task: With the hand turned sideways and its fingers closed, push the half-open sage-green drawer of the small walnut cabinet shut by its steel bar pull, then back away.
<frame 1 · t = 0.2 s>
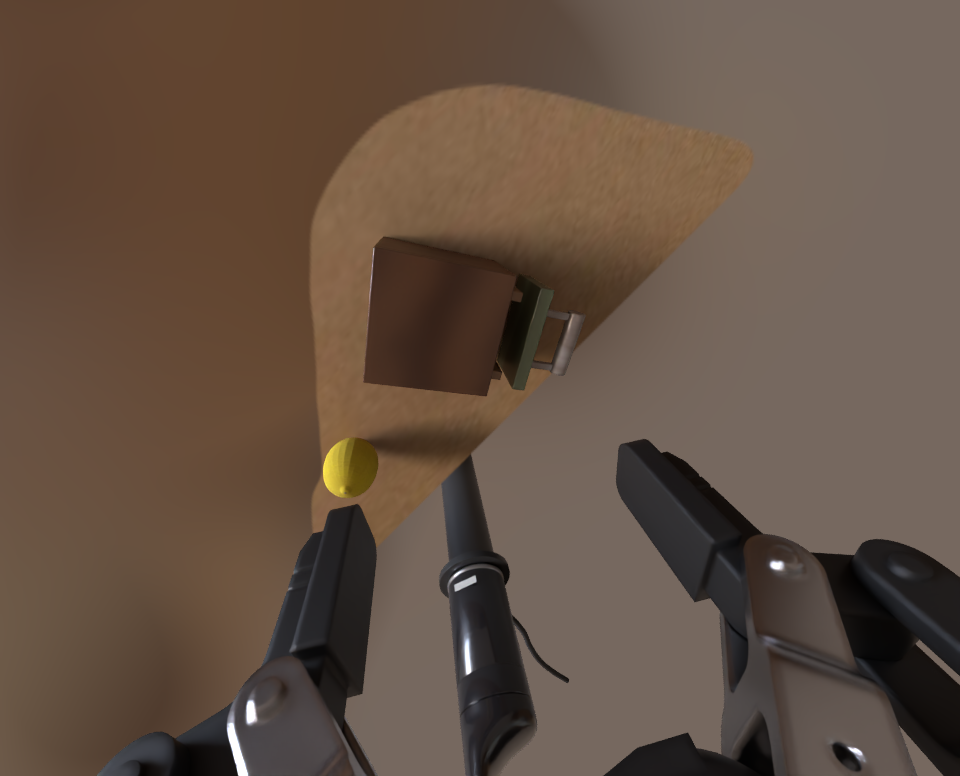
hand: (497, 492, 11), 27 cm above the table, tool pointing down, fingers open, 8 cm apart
cabinet: (432, 304, 35), on the table
lemon: (357, 443, 41), on the table
drawer: (501, 327, 33), point 4 cm above the table, slide at 2.5 cm
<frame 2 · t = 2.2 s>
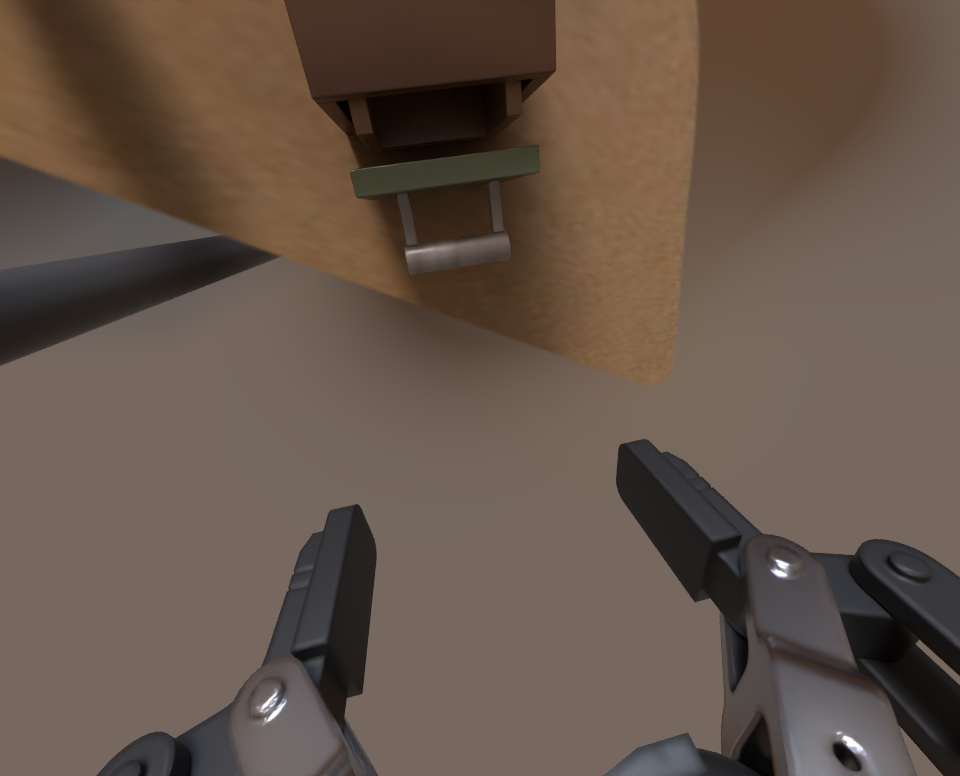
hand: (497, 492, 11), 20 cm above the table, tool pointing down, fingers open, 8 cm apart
cabinet: (411, 10, 20), on the table
drawer: (436, 133, 19), point 4 cm above the table, slide at 2.5 cm
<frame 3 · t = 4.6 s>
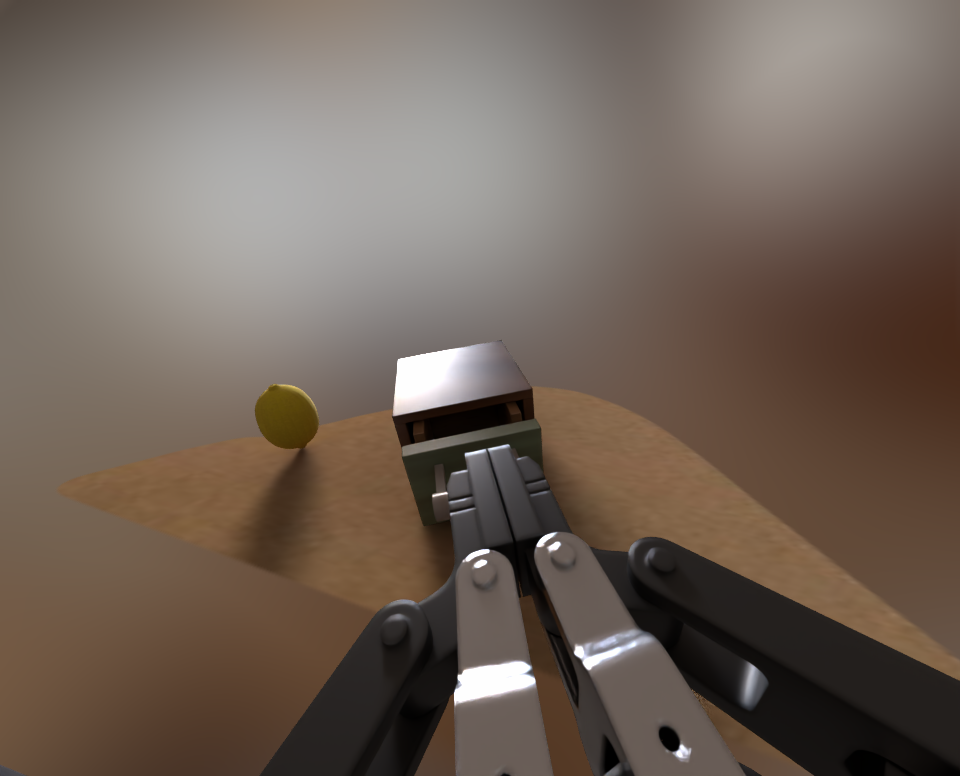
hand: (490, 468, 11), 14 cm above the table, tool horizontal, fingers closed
cabinet: (470, 448, 34), on the table
lemon: (303, 448, 38), on the table
drawer: (473, 455, 27), point 4 cm above the table, slide at 2.5 cm
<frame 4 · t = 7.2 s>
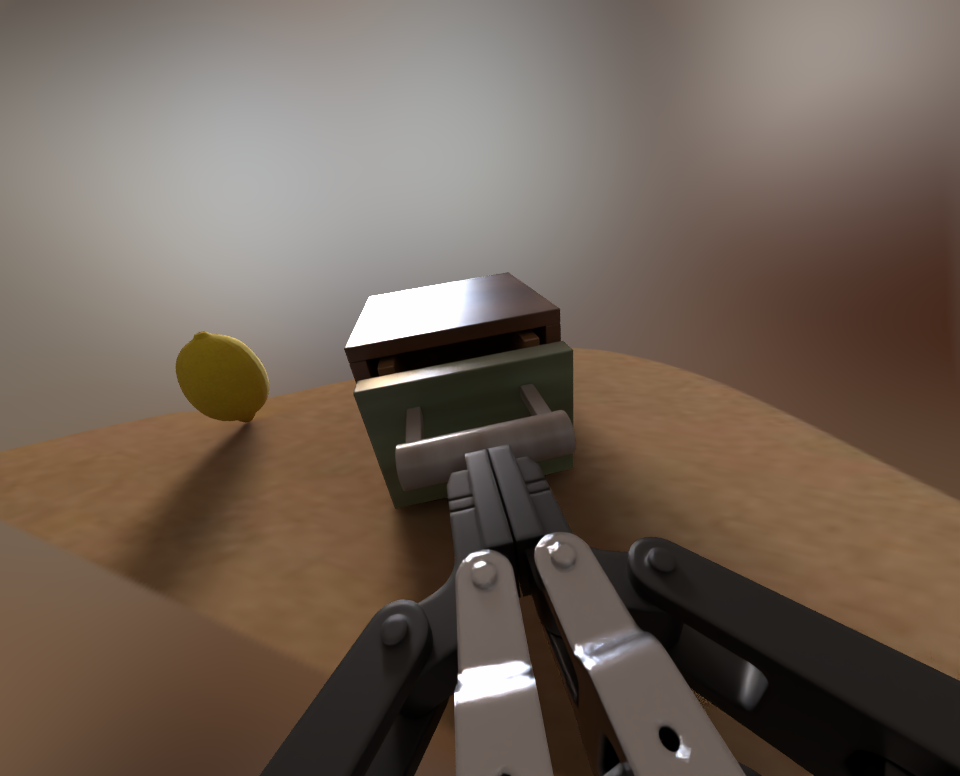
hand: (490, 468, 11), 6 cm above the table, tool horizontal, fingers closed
cabinet: (467, 416, 25), on the table
lemon: (250, 423, 29), on the table
drawer: (469, 406, 18), point 4 cm above the table, slide at 1.8 cm, touching gripper
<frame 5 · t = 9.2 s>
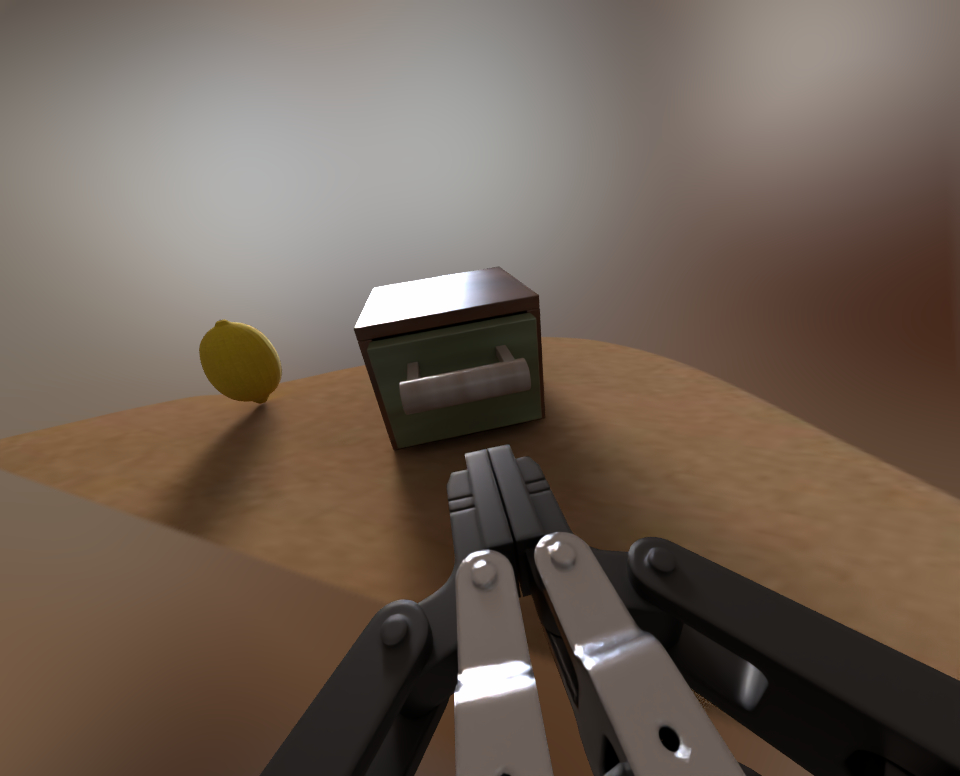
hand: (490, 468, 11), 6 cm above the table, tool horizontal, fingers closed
cabinet: (461, 396, 28), on the table
lemon: (264, 404, 32), on the table
drawer: (458, 368, 23), point 4 cm above the table, slide at 0.0 cm, touching cabinet
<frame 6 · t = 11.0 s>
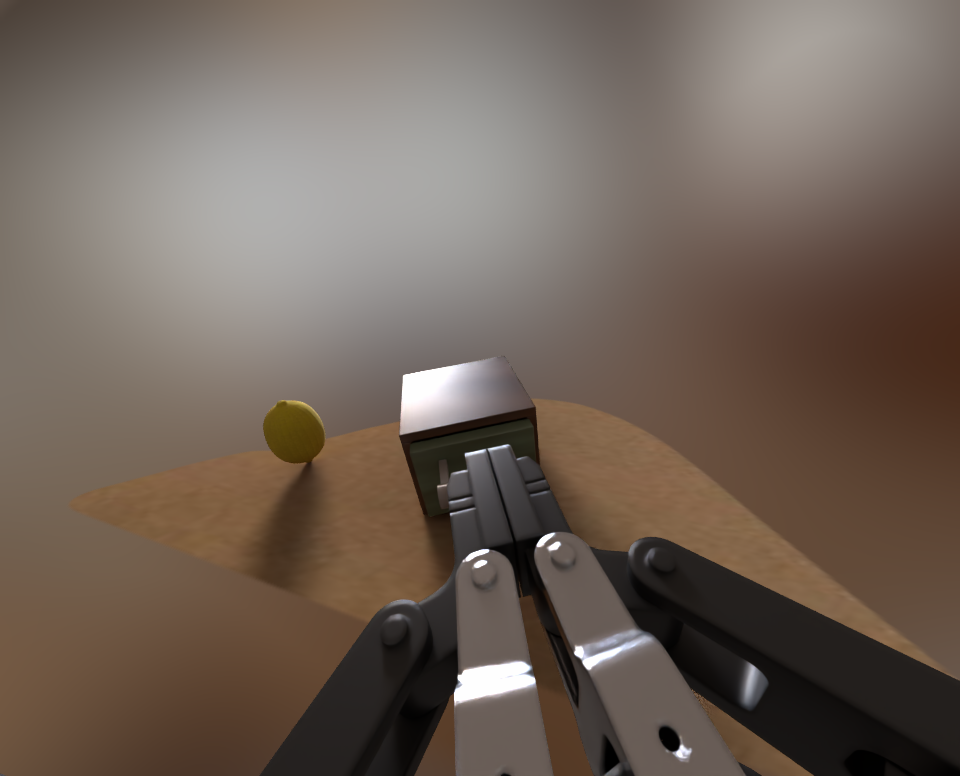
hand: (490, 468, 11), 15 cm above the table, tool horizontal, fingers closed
cabinet: (474, 462, 35), on the table
lemon: (310, 462, 39), on the table
drawer: (473, 453, 29), point 4 cm above the table, slide at 0.0 cm, touching cabinet
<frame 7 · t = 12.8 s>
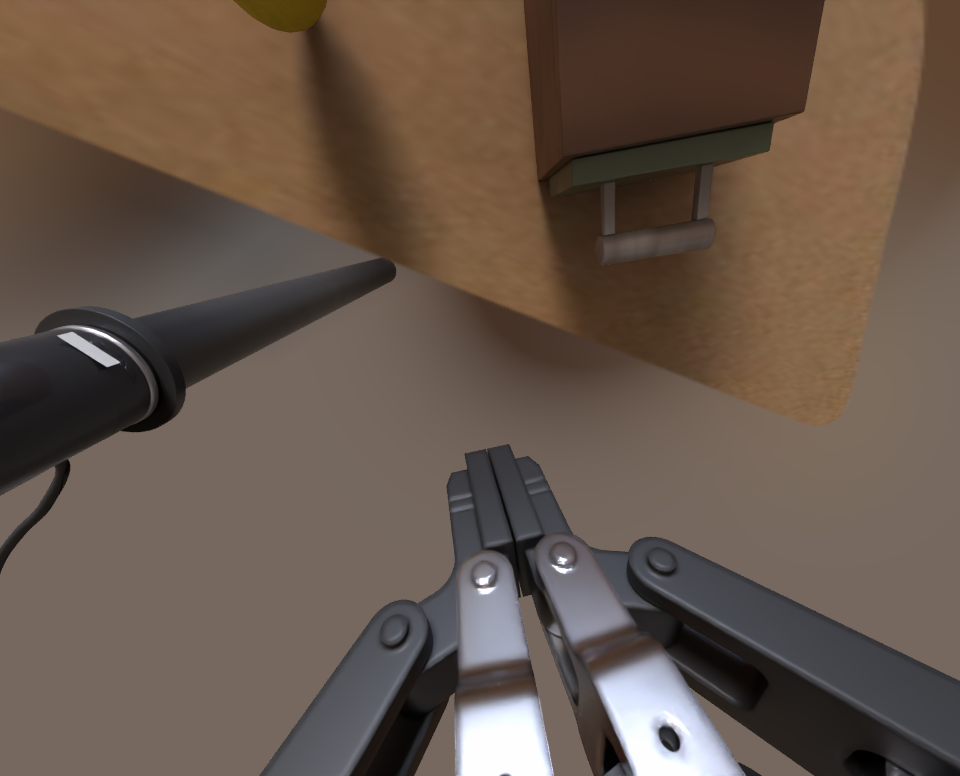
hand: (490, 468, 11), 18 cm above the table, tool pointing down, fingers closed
cabinet: (615, 68, 21), on the table
drawer: (642, 123, 19), point 4 cm above the table, slide at 0.0 cm, touching cabinet
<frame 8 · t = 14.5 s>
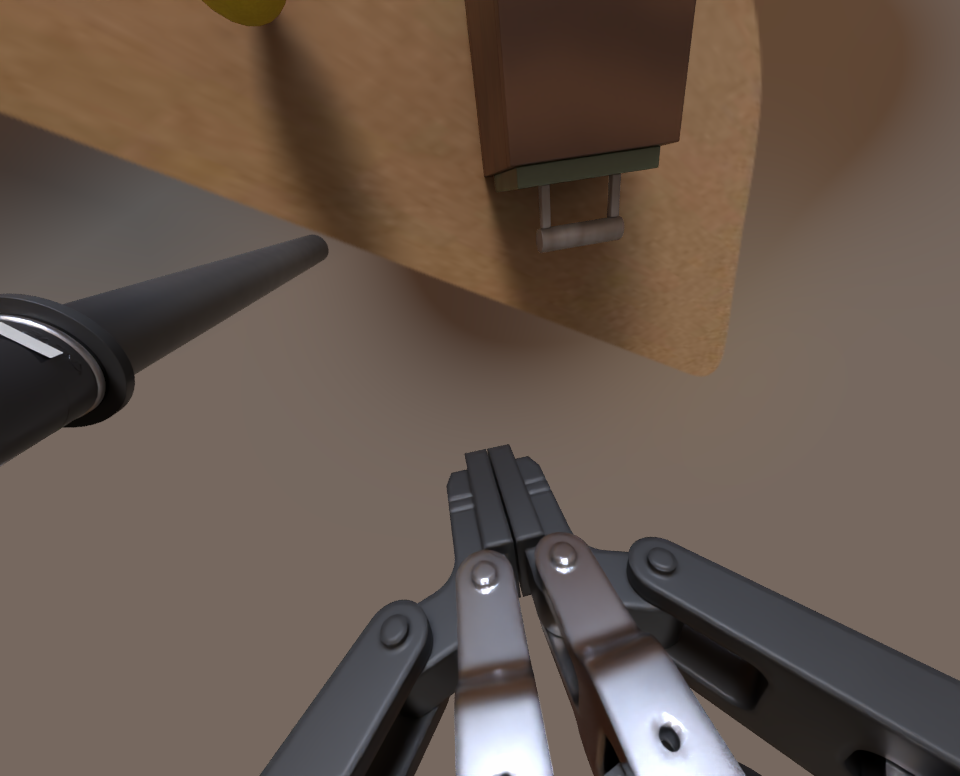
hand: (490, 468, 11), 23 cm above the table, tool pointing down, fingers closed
cabinet: (545, 83, 25), on the table
drawer: (568, 136, 24), point 4 cm above the table, slide at 0.0 cm, touching cabinet
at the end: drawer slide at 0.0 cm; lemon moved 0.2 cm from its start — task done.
